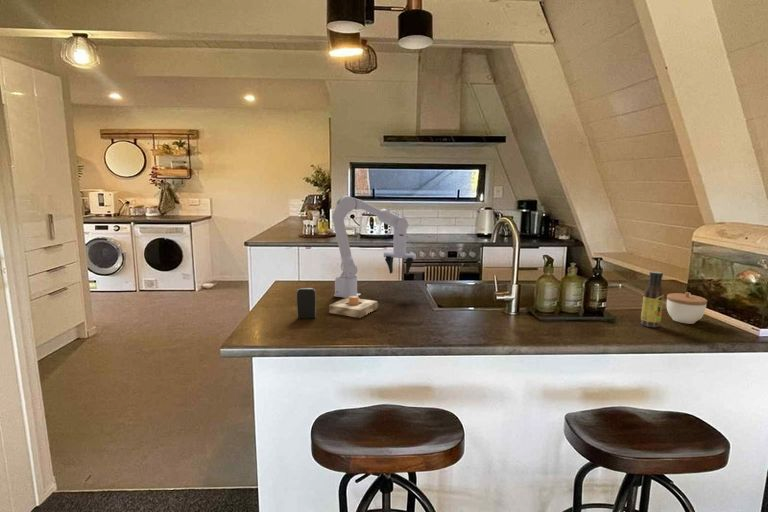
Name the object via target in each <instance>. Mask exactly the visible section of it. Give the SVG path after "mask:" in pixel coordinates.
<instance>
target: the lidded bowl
mask: <svg viewBox="0 0 768 512" xmlns="http://www.w3.org/2000/svg"><path fill="white" fill-rule="evenodd" d="M707 304H708V300H707V298H704V297H702V296H700V295H699V296H698V295H694V294H690V292H688V291H686V292H685V293H681V292H680V293H679V292H677V293H676V292H673V293H667V294H666V310H667V313H668V315H669V316H670V318H671V319H672V320H673V321H675V322H677V323H681V324H686V325H687V324H690V325H691V324H695V323H696V322H697V321H699V320H701V319H702V317H703V316H704V314H705V312H706V308H707Z"/></svg>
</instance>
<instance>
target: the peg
mask: <svg viewBox="0 0 768 512" xmlns="http://www.w3.org/2000/svg"><path fill="white" fill-rule="evenodd" d="M359 299H360V297H359V296H349V305H353V306H357V305H359Z"/></svg>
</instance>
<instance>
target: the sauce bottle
mask: <svg viewBox="0 0 768 512" xmlns="http://www.w3.org/2000/svg"><path fill="white" fill-rule="evenodd" d="M663 276H664V273H663V272H661V271H655V270H651V271H649V282H648V284H647V286H645V288H644V289H643V290H644V292H643V297H642V304H641V314H640V324H641V326H644V327H648V328H658V327H660V326H661V321H662V313H663V304H664V296H665V293H664V289H663V287H662V279H663Z"/></svg>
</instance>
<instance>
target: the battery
mask: <svg viewBox="0 0 768 512" xmlns="http://www.w3.org/2000/svg"><path fill="white" fill-rule="evenodd" d="M316 296H317V293H316V289H315V288H314V287H299V288H298V289H297V291H296V308H297V309H296V310H297V315H296V316H297V317H296V318H297V319H301V320H303V319H315V318H317V317H316V314H317V312H316V310H317V309H316V307H317V297H316Z"/></svg>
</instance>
